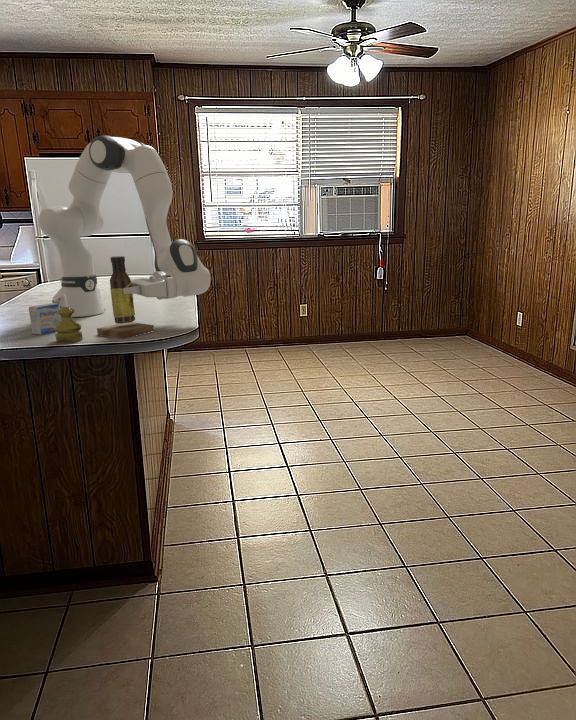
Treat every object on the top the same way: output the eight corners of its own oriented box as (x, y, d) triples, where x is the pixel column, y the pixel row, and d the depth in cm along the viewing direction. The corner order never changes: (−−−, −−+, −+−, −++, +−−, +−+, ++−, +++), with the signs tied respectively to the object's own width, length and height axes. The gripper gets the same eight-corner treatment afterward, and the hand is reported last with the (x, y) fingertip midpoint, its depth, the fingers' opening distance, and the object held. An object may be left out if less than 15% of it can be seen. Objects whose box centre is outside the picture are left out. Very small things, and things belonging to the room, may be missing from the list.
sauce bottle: (137, 322, 171) (130, 256, 166) (116, 325, 169) (108, 258, 163) (133, 319, 177) (126, 255, 171) (113, 321, 174) (105, 256, 169)
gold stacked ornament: (74, 343, 162) (70, 309, 159) (51, 343, 163) (46, 309, 160) (87, 337, 169) (83, 304, 166) (65, 337, 170) (60, 304, 167)
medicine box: (40, 335, 175) (36, 307, 173) (32, 333, 177) (27, 306, 175) (62, 330, 181) (58, 303, 179) (53, 329, 184) (50, 302, 181)
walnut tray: (97, 334, 172) (96, 328, 172) (129, 327, 182) (128, 321, 181) (122, 339, 165) (122, 331, 165) (154, 331, 175) (153, 324, 174)
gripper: (149, 272, 184) (107, 276, 177) (174, 277, 168) (128, 282, 161) (150, 291, 186) (109, 296, 179) (175, 298, 170) (131, 304, 162)
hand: (118, 289), depth 170 cm, fingers closed on sauce bottle, 6 cm apart
